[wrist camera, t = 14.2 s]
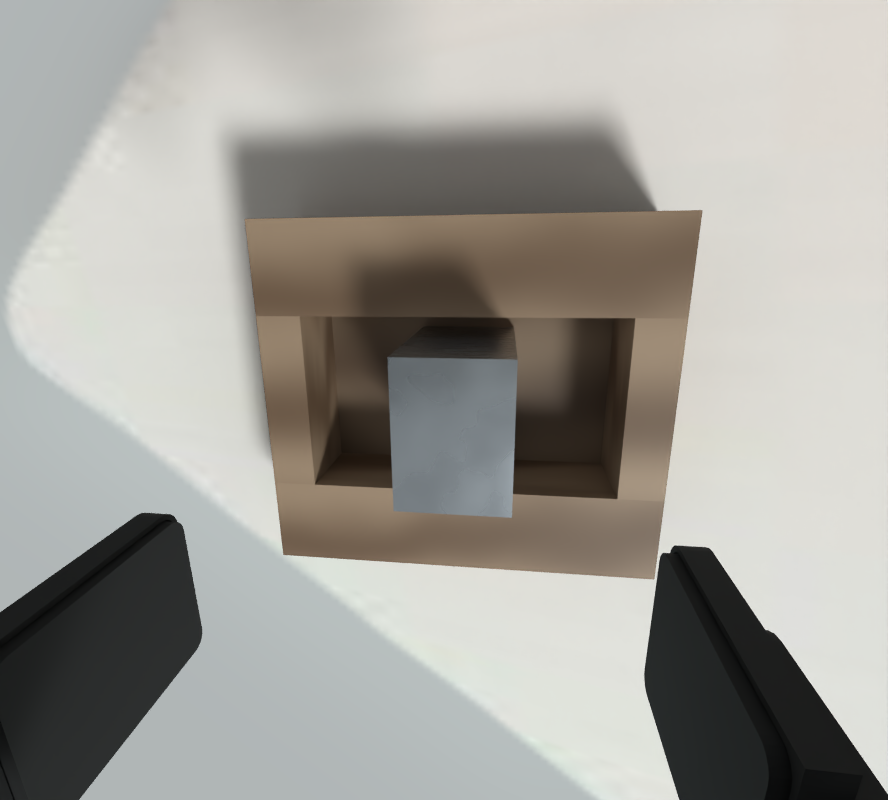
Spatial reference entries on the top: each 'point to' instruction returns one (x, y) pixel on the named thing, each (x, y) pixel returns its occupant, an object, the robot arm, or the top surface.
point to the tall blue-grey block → (454, 421)
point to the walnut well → (538, 378)
